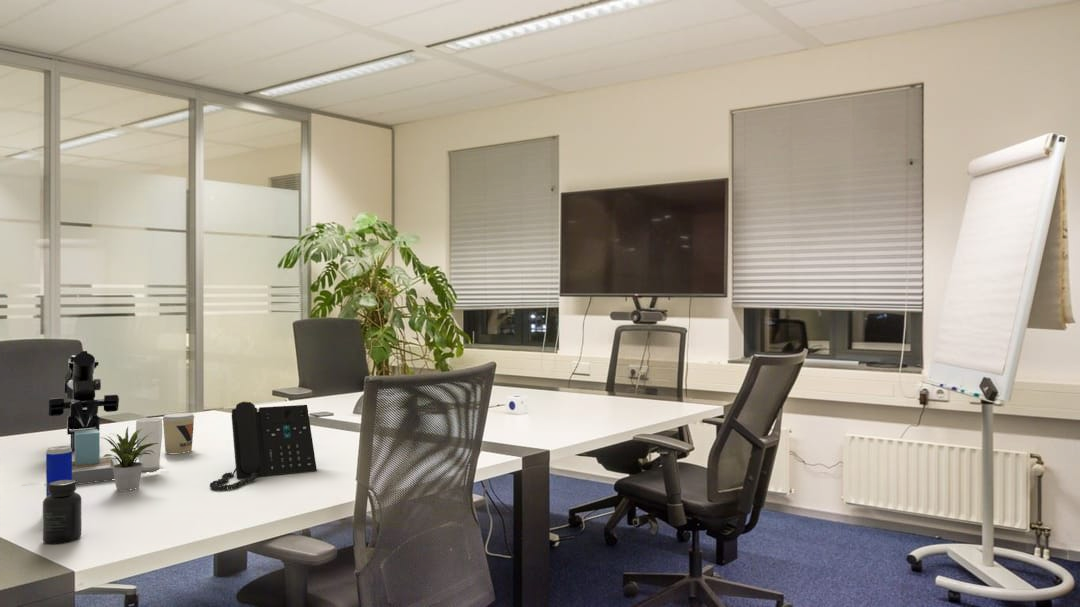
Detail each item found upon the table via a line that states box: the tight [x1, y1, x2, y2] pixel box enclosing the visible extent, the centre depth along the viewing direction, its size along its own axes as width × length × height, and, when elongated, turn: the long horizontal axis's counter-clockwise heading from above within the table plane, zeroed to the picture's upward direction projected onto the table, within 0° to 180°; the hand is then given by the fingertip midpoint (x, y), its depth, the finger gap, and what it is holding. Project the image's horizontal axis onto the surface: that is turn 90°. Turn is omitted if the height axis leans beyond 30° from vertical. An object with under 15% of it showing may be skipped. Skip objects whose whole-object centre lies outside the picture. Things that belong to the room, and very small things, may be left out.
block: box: [74, 429, 101, 466], centre depth 223 cm, size 7×6×9 cm
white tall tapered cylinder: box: [135, 417, 163, 473], centre depth 218 cm, size 7×7×15 cm
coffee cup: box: [162, 412, 195, 454], centre depth 246 cm, size 9×9×12 cm
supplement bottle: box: [42, 480, 83, 545], centre depth 157 cm, size 7×7×12 cm
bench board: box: [72, 456, 112, 470], centre depth 221 cm, size 11×13×2 cm
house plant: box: [99, 426, 158, 491], centre depth 197 cm, size 14×14×16 cm
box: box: [72, 457, 119, 485], centre depth 211 cm, size 14×13×4 cm
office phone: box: [209, 400, 318, 491], centre depth 214 cm, size 29×28×20 cm
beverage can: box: [45, 445, 73, 498], centre depth 178 cm, size 5×5×15 cm
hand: (85, 426), depth 231 cm, fingers closed
